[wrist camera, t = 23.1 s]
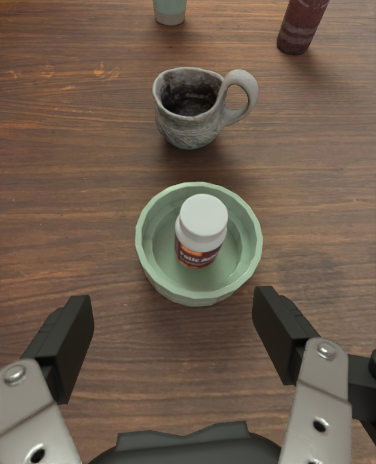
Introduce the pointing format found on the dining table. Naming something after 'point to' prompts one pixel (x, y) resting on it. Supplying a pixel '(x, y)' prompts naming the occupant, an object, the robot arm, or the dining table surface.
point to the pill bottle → (200, 231)
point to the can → (300, 25)
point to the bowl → (226, 262)
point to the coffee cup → (169, 11)
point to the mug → (198, 104)
